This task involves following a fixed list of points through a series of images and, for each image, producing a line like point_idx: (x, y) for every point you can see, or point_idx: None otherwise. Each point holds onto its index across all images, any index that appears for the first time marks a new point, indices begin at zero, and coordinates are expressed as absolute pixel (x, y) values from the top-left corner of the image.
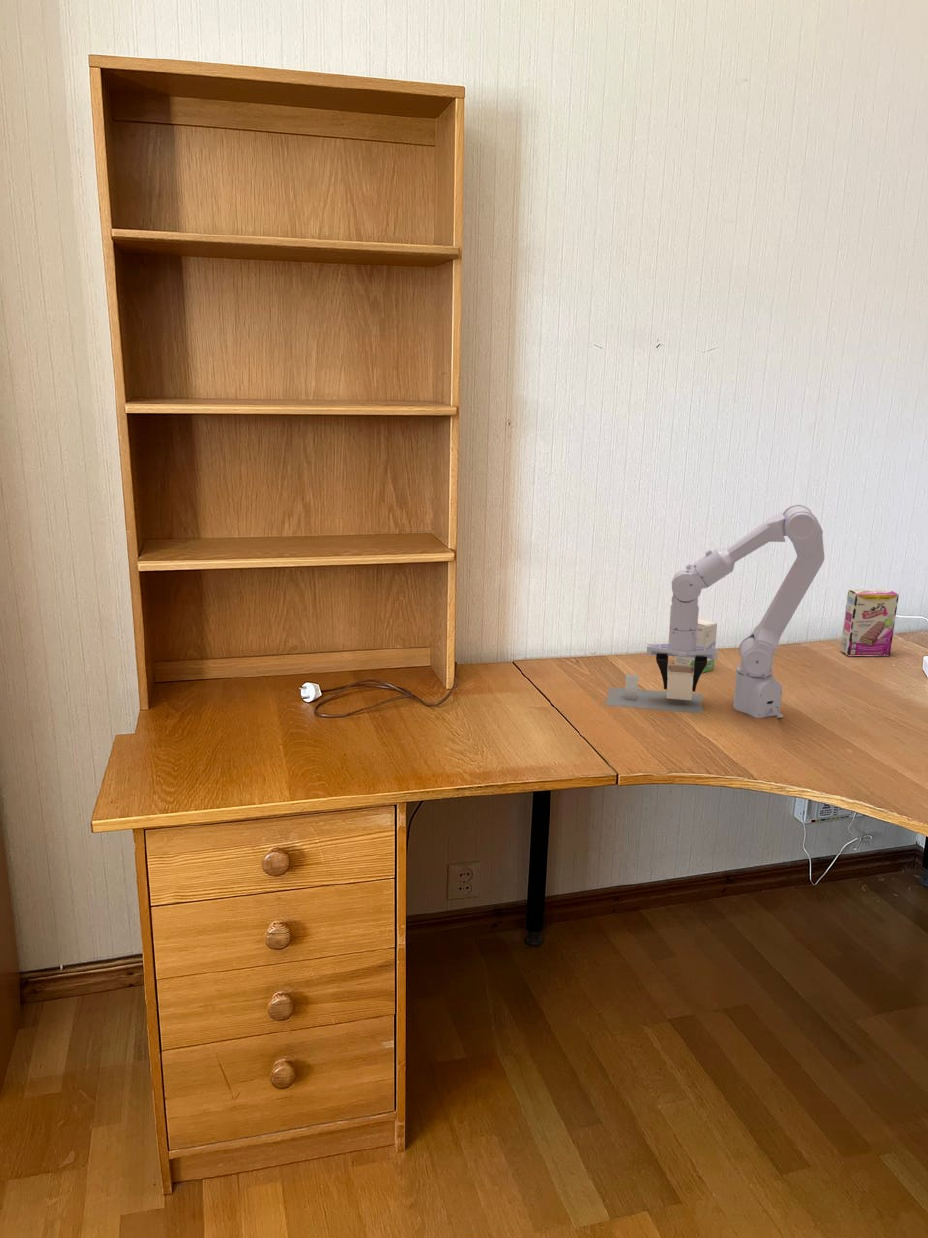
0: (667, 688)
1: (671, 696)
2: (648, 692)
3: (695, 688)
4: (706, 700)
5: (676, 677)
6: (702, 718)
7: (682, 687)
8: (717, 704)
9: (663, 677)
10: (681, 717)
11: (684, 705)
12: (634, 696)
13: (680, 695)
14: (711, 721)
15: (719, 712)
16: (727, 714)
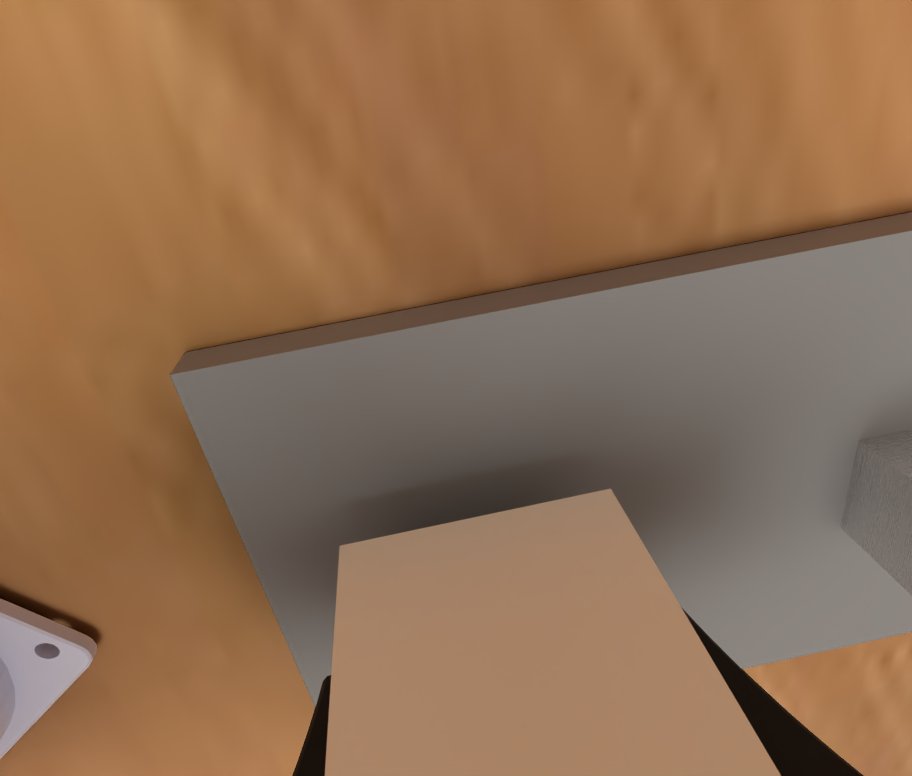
0: (655, 577)
1: (565, 517)
2: (742, 631)
3: (315, 711)
4: (296, 714)
5: (608, 768)
6: (177, 342)
7: (467, 643)
8: (190, 686)
9: (788, 726)
10: (389, 276)
11: (412, 502)
12: (907, 456)
13: (469, 552)
14: (52, 295)
15: (97, 552)
16: (8, 539)
